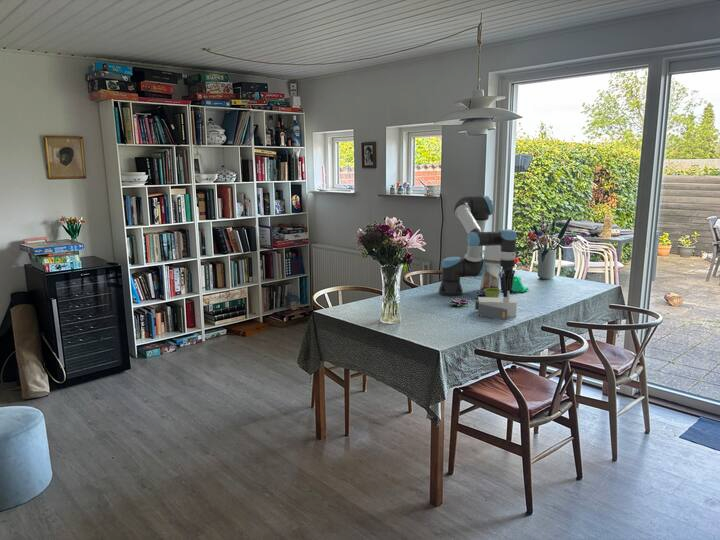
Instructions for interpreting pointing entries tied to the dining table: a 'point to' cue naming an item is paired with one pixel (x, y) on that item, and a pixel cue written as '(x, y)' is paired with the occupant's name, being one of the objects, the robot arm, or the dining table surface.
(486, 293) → the plant pot
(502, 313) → the side door
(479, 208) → the robot arm
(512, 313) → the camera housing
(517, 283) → the camera mount
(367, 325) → the dining table surface
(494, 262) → the display case
